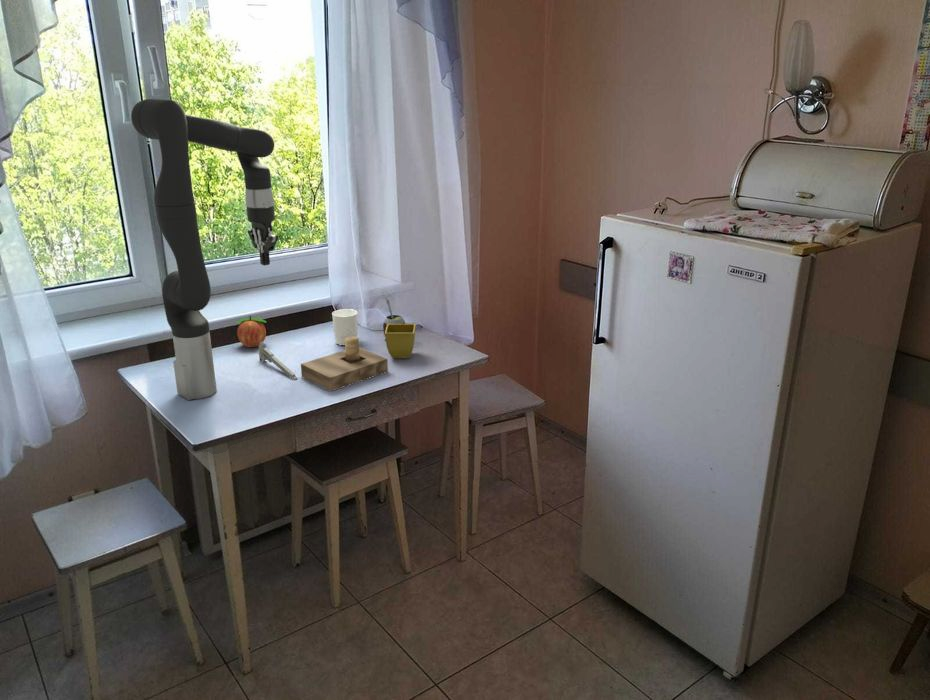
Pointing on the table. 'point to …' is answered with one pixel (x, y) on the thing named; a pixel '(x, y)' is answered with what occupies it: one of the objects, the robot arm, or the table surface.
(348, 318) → the white cup
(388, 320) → the mate gourd
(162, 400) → the table surface
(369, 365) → the board
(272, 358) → the caliper
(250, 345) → the fruit
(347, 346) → the peg
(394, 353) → the flower pot
